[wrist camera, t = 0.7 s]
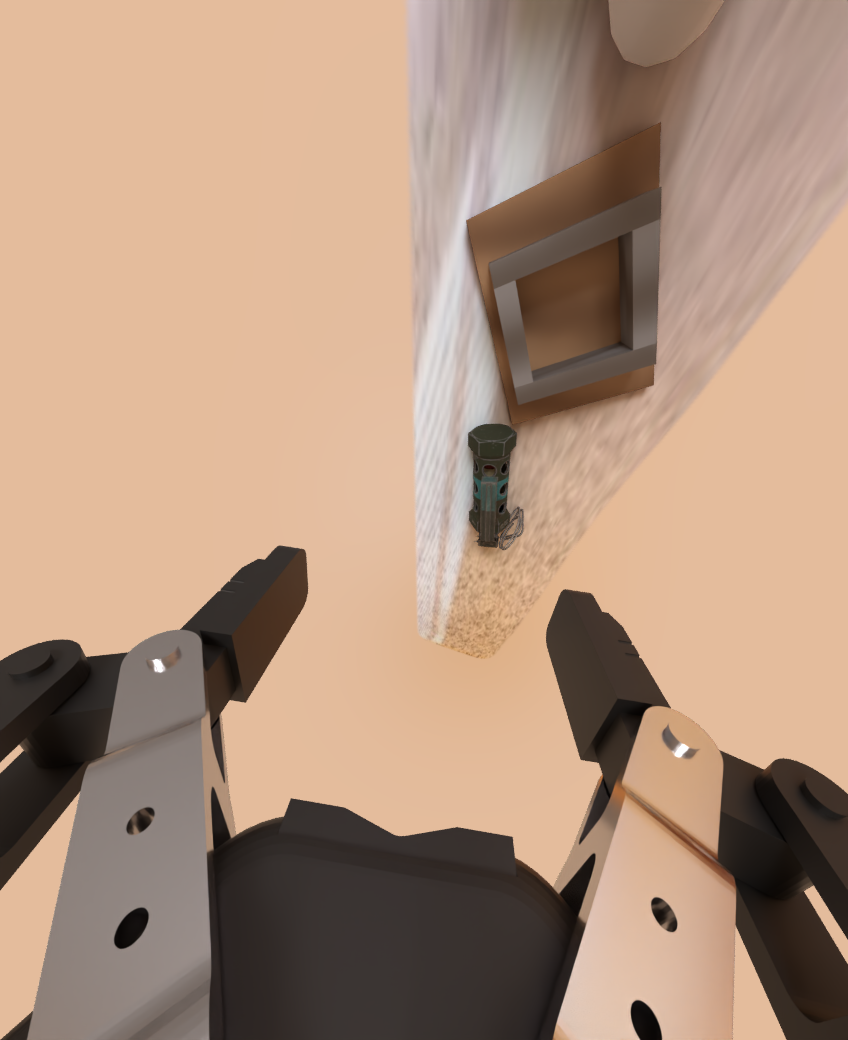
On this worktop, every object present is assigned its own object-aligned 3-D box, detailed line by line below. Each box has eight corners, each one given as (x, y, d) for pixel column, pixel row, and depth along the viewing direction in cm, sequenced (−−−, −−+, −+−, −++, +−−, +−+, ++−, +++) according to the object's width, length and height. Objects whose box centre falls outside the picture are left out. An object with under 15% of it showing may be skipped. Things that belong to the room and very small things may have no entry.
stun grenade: (471, 421, 35) (471, 525, 44) (462, 449, 30) (464, 559, 39) (533, 422, 33) (521, 528, 42) (534, 451, 29) (520, 565, 37)
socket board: (466, 221, 25) (463, 217, 22) (654, 126, 21) (683, 105, 18) (511, 420, 33) (514, 438, 30) (649, 381, 29) (668, 397, 26)
